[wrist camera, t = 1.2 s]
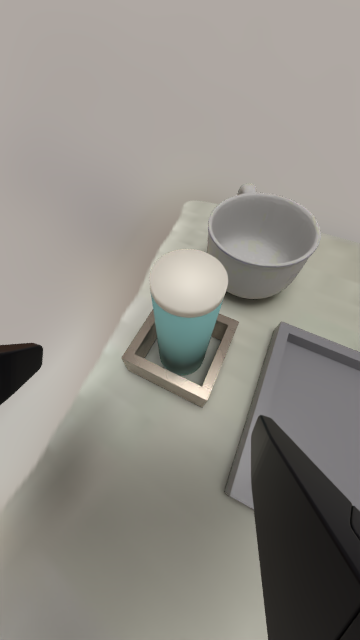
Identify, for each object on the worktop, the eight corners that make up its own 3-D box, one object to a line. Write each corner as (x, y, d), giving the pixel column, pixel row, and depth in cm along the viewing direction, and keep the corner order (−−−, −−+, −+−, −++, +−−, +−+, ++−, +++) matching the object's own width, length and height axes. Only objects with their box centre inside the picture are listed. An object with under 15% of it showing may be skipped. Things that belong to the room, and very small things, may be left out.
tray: (455, 624, 15) (493, 646, 13) (224, 491, 18) (229, 496, 16) (435, 395, 22) (457, 390, 20) (273, 330, 25) (281, 321, 24)
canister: (193, 383, 22) (210, 323, 12) (151, 363, 23) (134, 290, 13) (210, 344, 24) (238, 264, 14) (172, 327, 25) (171, 240, 15)
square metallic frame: (202, 407, 21) (207, 400, 18) (128, 370, 23) (121, 357, 20) (231, 337, 25) (239, 321, 22) (165, 309, 26) (164, 291, 23)
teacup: (289, 317, 26) (331, 269, 19) (196, 305, 27) (204, 254, 20) (280, 236, 33) (309, 179, 26) (206, 227, 34) (215, 169, 27)
